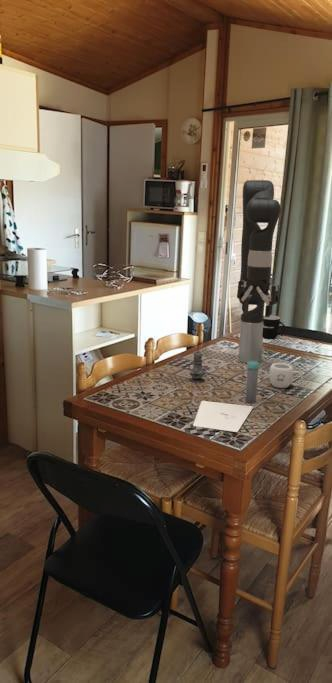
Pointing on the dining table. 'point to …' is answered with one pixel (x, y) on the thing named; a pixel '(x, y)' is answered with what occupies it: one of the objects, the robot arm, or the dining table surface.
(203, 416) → the paper sheet
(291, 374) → the mug
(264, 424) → the dining table surface
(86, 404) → the dining table surface
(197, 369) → the weathered grey finial
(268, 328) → the mug
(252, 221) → the robot arm
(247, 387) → the marker
